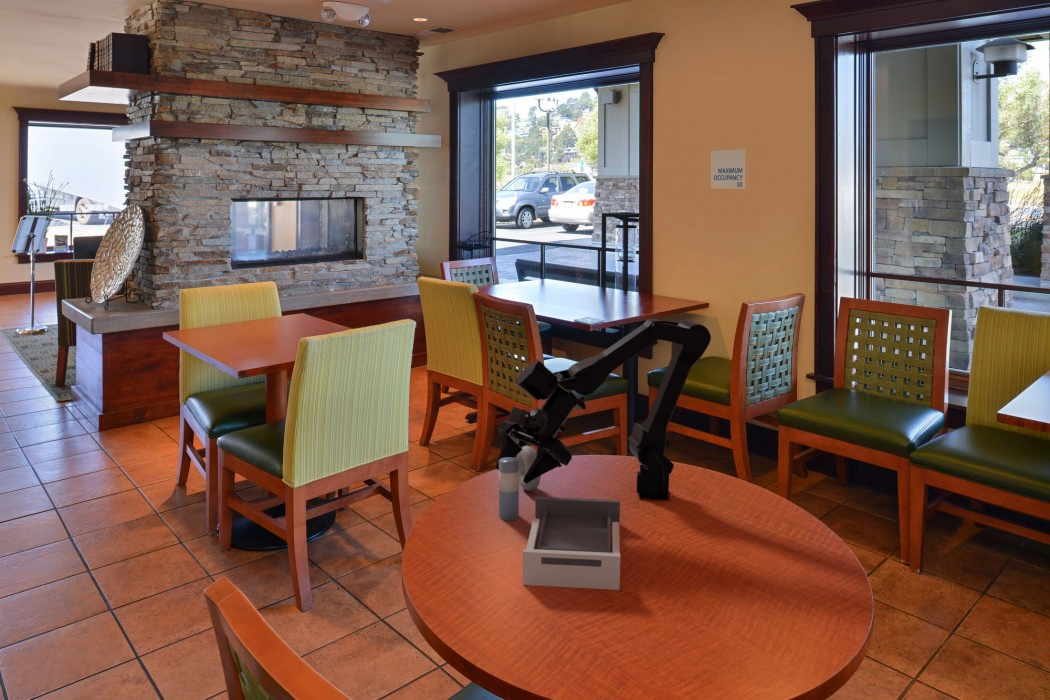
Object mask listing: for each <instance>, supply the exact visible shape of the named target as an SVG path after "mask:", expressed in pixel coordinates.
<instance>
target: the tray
mask: <svg viewBox="0 0 1050 700" xmlns="http://www.w3.org/2000/svg"><path fill="white" fill-rule="evenodd" d="M534 508H535V511H534V514H535V515H534V516H535V518H534V519H540V533H539V538H538V542H537V547H536V549H540V550H561V551H582V552H603V553H612V527H611V525H612V522H619V526H620V523H621V522H620V521H621V519H620V518H621V517H620V515H621V514H620V513H621V500H620V499H605V498H604V499H603V498H602V499H601V498H598V499H597V498H582V497H581V498H577V497H576V498H575V497H558V496H557V497H553V496H552V497H551V496H535V507H534Z"/></svg>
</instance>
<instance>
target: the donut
mask: <svg viewBox="0 0 1050 700" xmlns="http://www.w3.org/2000/svg"><path fill="white" fill-rule="evenodd" d="M521 448H522V449H523V450H522V451H521V452H520V453H519V454H517V455H516V458H517V459H518V460H519V485H520V486H521V488H522V489H523V490H525V491H527V492H533V491H534V490H536V489H537V488H538V487H539V485H540V483H541V479H542V477H541V476H542V475H541V476H539V477H537V478H536V479H534V480H532V481H530V482H529V483H527V484H526V483H525V482H524V481H523V479H524V477H525V475H526V473H527V472H528V470H529V468H530V467H531V465H532V463H533V462H534V460H535V459H536V457H537V449H535V448H534V447H532V446H530V445H524V446H522V447H521Z"/></svg>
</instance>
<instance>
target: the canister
mask: <svg viewBox="0 0 1050 700" xmlns="http://www.w3.org/2000/svg"><path fill="white" fill-rule="evenodd" d="M498 498H499V499H498V501H499V502H498V511H499V513H498V514H499V515H498V516H499V519H501V520H502V521H514V520H515V521H516V520H517V519H519V517H520V482H519V460H518V459H517V457H514V458H512V457H506V458H501V459H500V460H499V470H498Z"/></svg>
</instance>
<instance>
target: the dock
mask: <svg viewBox="0 0 1050 700" xmlns="http://www.w3.org/2000/svg"><path fill="white" fill-rule="evenodd" d="M611 525H612V527H611V553H603V552H582V551H561V550H540V549H536V547H537V542H538V538H539V533H540V528H541V521H540V519H535V518H532V524H531V527H530V532H529V536H528V540H527V542H526V548H523V550H522V585H523V586H535V587H537V586H538V587H540V586H541V587H542V586H543V587H558V588H575V589H576V588H577V589H594V590H595V589H597V590H612V591H613V590H614V591H620V583H621V582H620V581H621V580H620V579H621V552H620V551H621V550H620V548H621V547H620V525H619V522H612V524H611Z"/></svg>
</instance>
